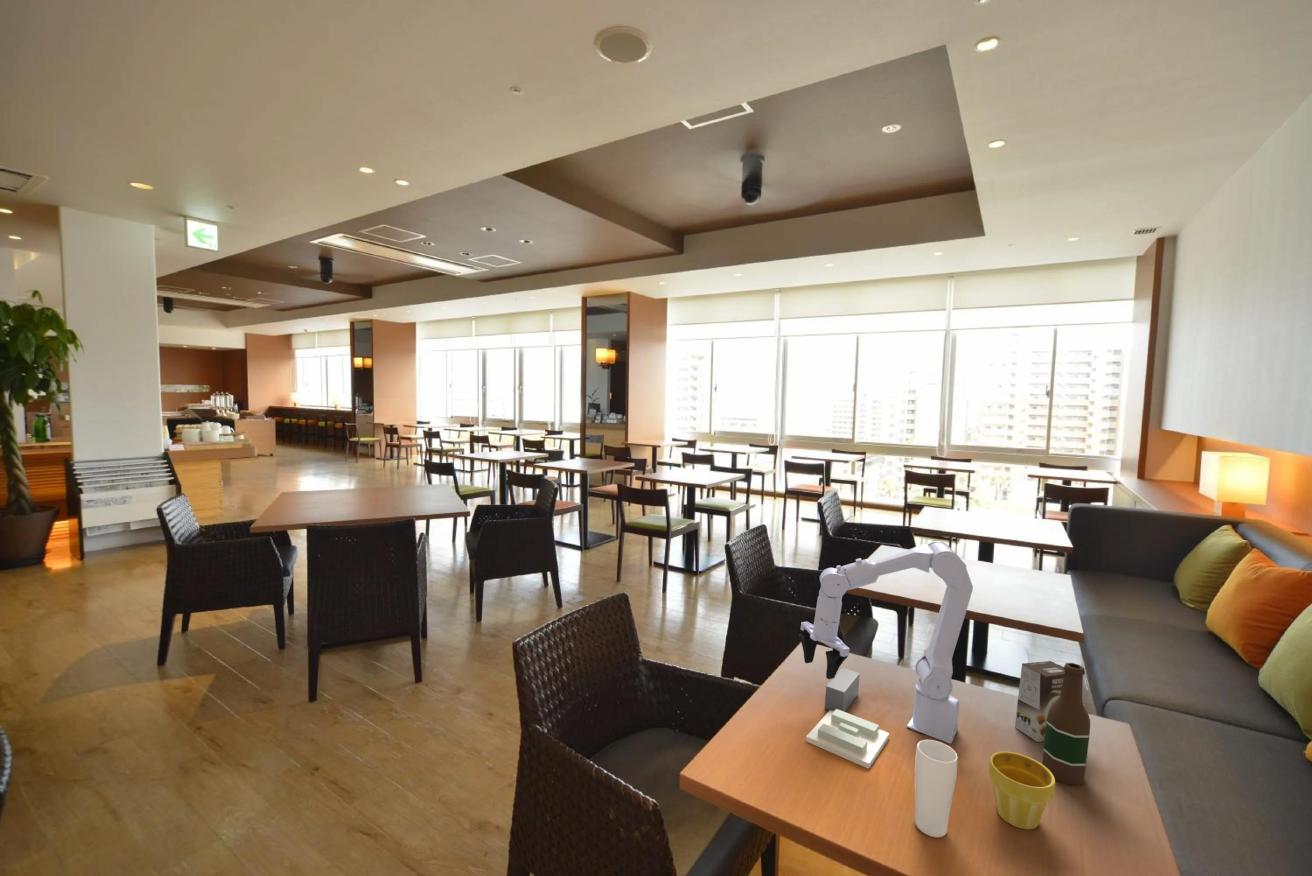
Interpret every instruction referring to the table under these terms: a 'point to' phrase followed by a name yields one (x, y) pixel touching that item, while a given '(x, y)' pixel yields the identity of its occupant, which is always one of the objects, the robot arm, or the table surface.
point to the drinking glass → (934, 786)
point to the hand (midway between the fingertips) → (819, 670)
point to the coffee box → (1037, 696)
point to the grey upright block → (842, 690)
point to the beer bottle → (1068, 730)
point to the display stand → (849, 737)
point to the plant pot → (1020, 788)
